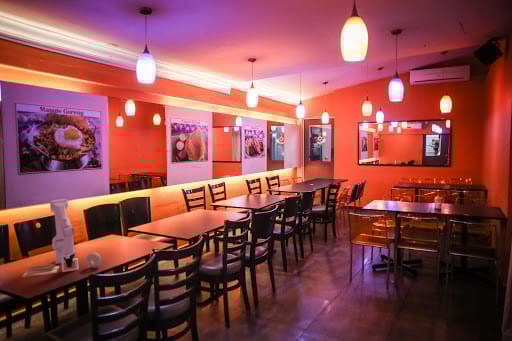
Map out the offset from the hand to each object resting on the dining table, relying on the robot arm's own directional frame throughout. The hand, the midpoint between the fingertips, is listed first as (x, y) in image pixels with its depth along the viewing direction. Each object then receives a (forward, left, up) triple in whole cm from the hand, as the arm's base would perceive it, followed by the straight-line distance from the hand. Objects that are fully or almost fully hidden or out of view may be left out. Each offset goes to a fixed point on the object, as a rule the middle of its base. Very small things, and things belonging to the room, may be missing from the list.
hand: (70, 266), depth 218 cm
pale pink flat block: (0, 0, -2) cm, 2 cm away
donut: (+2, +14, -3) cm, 14 cm away
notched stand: (-4, -17, -2) cm, 18 cm away
